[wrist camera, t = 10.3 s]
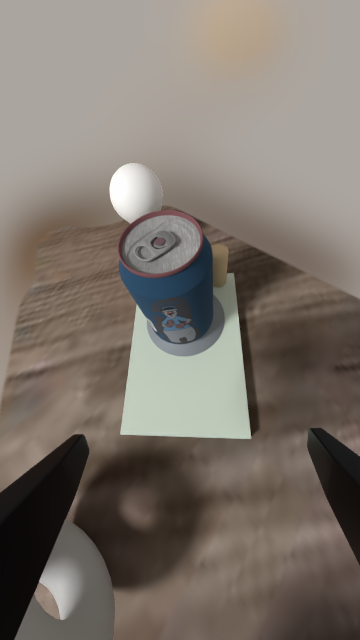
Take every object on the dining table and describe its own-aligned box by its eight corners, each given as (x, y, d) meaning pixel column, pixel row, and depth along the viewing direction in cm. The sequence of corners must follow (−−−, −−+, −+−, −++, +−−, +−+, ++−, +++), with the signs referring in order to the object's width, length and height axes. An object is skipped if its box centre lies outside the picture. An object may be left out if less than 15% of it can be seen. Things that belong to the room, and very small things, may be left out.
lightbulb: (167, 225, 34) (148, 144, 24) (179, 253, 31) (162, 173, 21) (130, 238, 34) (96, 162, 24) (138, 266, 31) (103, 193, 21)
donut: (144, 590, 17) (64, 778, 8) (113, 642, 16) (-18, 921, 7) (67, 488, 20) (-47, 536, 12) (38, 525, 19) (-110, 608, 11)
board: (249, 438, 20) (262, 442, 15) (125, 434, 22) (94, 436, 16) (233, 278, 28) (237, 242, 22) (142, 284, 30) (126, 252, 24)
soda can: (188, 284, 27) (171, 190, 16) (226, 323, 24) (236, 240, 13) (142, 316, 26) (91, 238, 15) (175, 361, 23) (142, 304, 12)
